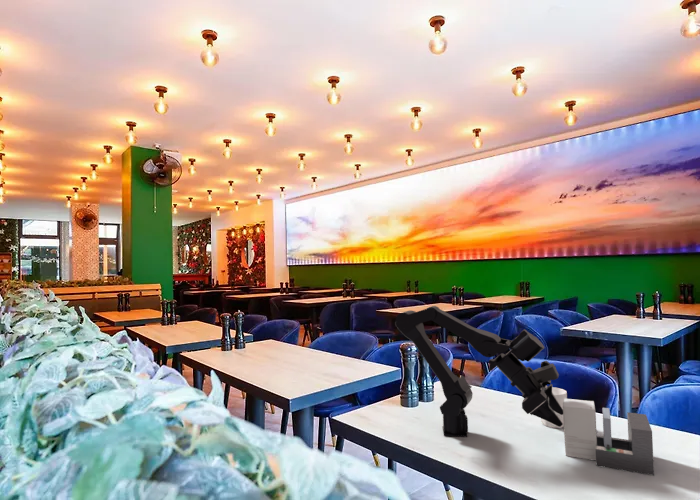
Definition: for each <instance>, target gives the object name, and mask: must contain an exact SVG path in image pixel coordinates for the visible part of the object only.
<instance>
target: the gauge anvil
mask: <svg viewBox="0 0 700 500" xmlns="http://www.w3.org/2000/svg"><path fill="white" fill-rule="evenodd" d="M626 415H627V416H626V417H627V434H628V435H627V437H628V439H624V438H619V437H612V436H611V440H612V448H610V449H607V447H604V435H598V434H597V446H595V447H596V460H595V465H596V467H600V468H601V467H602V468H606V469H613V470H618V471H623V472H629V473H638V474H643V475H650V476H655V468H654V446H653V444H654V443H653V430H652V427H651V424H650V422H649V419H648V416H647V414H645V413H636V412H627V413H626Z"/></svg>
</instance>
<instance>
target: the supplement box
mask: <svg viewBox="0 0 700 500" xmlns="http://www.w3.org/2000/svg"><path fill="white" fill-rule="evenodd" d="M596 413H597V412H596V406H595V401H594V400H583V399H572V398H567V399H566V398H564V402H563V418H564V427H563V435H564V449H565V450H564V451H565V453H564V454H565V457H573V458H578V459H584V460H590V461H596V447H595V446H597V435H598V433H597V432H598V431H597V417H596Z"/></svg>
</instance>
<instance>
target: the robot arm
mask: <svg viewBox="0 0 700 500" xmlns="http://www.w3.org/2000/svg"><path fill="white" fill-rule="evenodd" d="M394 321H395V322H394V325H395V327H396V328H397V330H398V331H399V332H400V333H401V334H402V335H403V336H404V337H405V338H407V339H409V341H411V342H412V343H413V344H414V345H415V347H416V348H417V350H418V352H419V353H420V354H421V356H422V357H423V358H424V360H425V361H426V363H427V364H428V366H429V367H430V369H431V370H432V372H433V373H434V374H435V376H436V378H437V379H438V380H439V382H440V384H441V389H442V392H443V395H444V397H445V399H446V400H445V401H444V402H443V403H442V404H441V405H440V406H439V410H440V412H441V415H442V426H441V427H442V433H443V436H446V437H467V436H468V434H467V433H468V432H469V427H468V426H469V425H468V424H469V422H468V421H469V419H468V415H467V414H466V411H465V408H466V407H467V406H468V404H470V403H471V401H472V399H473V394H474V393H473V391H472V387H473V386H472V385H470V384H469V383H468V381H467V380H466V377H465V376H464V375H461V376H460V377H459V376H457V375H456V374H454V372H453V371H452V370H451V368H450V367H449V365H448V364H447V362H446V360H445V359H444V358H443V356H442V355H441V353H440V352H439V351H438V350H437V347H436V346H435V345H434V344H433V342H432V341H431V339H430V338H429V336H428V335H427V333H426V330H425V326H424V323H427V322H429V321H431V322H433V323H435V324H437V325H438V326H440V327H441V328H444V329H445V330H447V331H448V332H451V333H452V334H453V335H456V336H457V337H459V338H461V339H464V340H465V341H466V342H468V344H469V345H470V346H471V347H472V348H473V349H474V350H475V351H476V352H478V353H479V354H480V355H482V356H483V357H485V358H490V359H489V360H488V364H489V367H488V370H489V371H490V372H491V371H493V370H494V369H495V368H497V369H499V371H500V372H501V373H502V374H503V375H504V376H505V378H507V379H508V381H510V386H511V387H515V388H516V389H517V390H519V392H521V393H522V398H523V399H522V402H521V409H523V411H524V412H525V413H526V414H527V415H529V414H530V415H531V416H534V417H538V418H540V419H541V418H542V419H544V420H546V421H548V422H550V423H553V424H555V425H557V426H559V427H560V426H562V425H563V423H562V422H561V420H560V419H559V418H558V416H557V415H556V414H555V412H557V413H559V414H560V415H563V409H562V407H561V406H560V404H559V403H558V401H557V400H556V398H555V396H554V395H553V393H552V387H553V384H552V381H555V380H557V379H558V378H559V376H560V374H559V372H558V370H557V368H556V365H555V364H554V363H550V362H549V361H548V360H543V361H541V363H540V367H537V368H536V369H533V368H532V367H531V366H530V367H529V366H527V367H526V365H525V364H524V363H522V362H525V361H526V362H530V361H531V360H533V358H534V357H536V356H537V355H538V354H540V353H541V351H543V350H544V349H545V346H544V344H543V343H542V341H541V340H539V338H538V337H537V336H534V334H532V333H530V332H529V331H528V330H526V329H523V330H522V331H521V332H520V333H519V334H518V335H517V336H516V337H515V338H513V339H512V340H510V339H505V338H501V337H500V336H499V335H498V334H496V333H493V332H490V331H487V330H484V329H481V328H476V327H474V326H472V325H470V324H468V323H466V322H464V321H463V320H461V319H459V318H457V317H455V316H453V315H452V314H450V313H448V312H447V311H445V310H442V309H440V307H438V306H436V305H432V306H429V307H426V308H424V309H422V310H419V311H415V310H407V311H402V312H401V313H398V314H397V316H396V317H395V320H394ZM509 349H510V350H509ZM508 350H509V351H508ZM507 351H508V352H507ZM506 352H507V353H506ZM504 353H505V354H504ZM497 354H499V355H498V356H497ZM495 356H496V357H495ZM493 357H495V358H493ZM553 410H554V411H555V412H554V411H553Z"/></svg>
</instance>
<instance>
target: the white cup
mask: <svg viewBox="0 0 700 500" xmlns="http://www.w3.org/2000/svg"><path fill="white" fill-rule="evenodd" d="M552 393H553V395H554V396H555V398H556V400H557V401H558V403H559V404H560V406H561V407H562V409H563V402H564V398H566V399H568V393H567V390H565V389H563V388H559V387H553V386H552ZM553 411H554V410H553ZM554 412H555V411H554ZM555 414H556V415H557V416H558V418H559V419H560V420H561V422H562V423H563V425H562V426H560V427H559V426H557V425H555V424H553V423H550V422H548V421H546V420H544V419H542V418H540V420H541V421H540V422H541V424H542V425H543V426H545V427H548V428H554V429H564V418H563V415H560V414H559V413H557V412H555Z"/></svg>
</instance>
